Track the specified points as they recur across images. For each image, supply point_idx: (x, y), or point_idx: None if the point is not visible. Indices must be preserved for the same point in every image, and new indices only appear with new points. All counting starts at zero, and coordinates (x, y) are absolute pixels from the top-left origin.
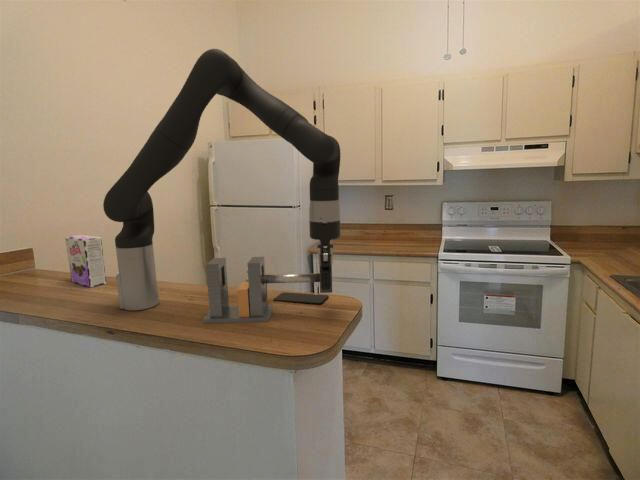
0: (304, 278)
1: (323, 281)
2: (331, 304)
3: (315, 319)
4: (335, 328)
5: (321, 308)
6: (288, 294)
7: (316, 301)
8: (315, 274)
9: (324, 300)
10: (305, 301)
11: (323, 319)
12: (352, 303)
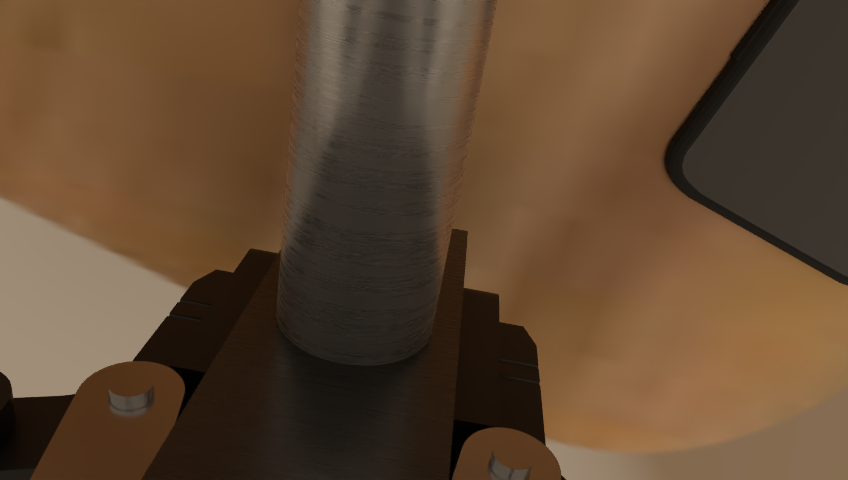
0: (300, 33)
1: (161, 325)
2: (642, 264)
3: (284, 48)
4: (74, 177)
5: (563, 154)
6: None
7: (739, 139)
8: (313, 280)
9: (740, 224)
10: (806, 16)
11: (274, 121)
12: (600, 423)
